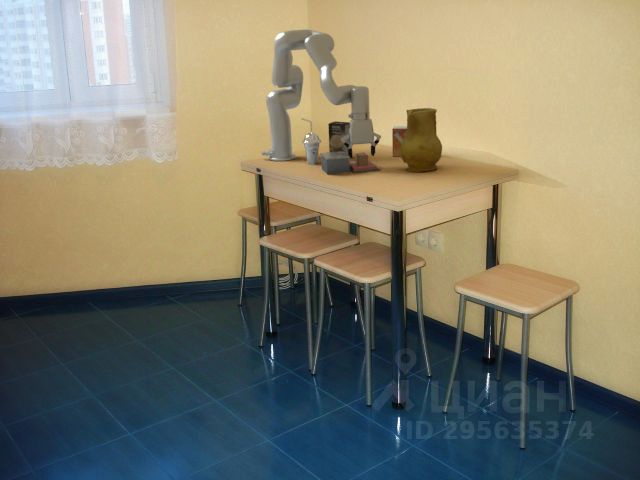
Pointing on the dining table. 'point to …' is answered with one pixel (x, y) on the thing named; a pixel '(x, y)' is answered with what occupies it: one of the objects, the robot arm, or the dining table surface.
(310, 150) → the cup with straw
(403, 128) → the small box
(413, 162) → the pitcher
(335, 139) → the coffee box
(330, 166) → the tin
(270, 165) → the dining table surface
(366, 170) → the mat
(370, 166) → the lid
